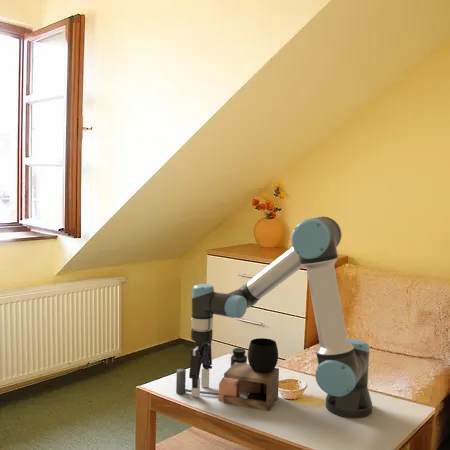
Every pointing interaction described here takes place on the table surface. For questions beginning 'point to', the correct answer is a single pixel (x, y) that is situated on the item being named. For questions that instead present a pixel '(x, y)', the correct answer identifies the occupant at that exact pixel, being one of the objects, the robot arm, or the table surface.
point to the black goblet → (262, 361)
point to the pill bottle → (238, 356)
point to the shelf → (253, 386)
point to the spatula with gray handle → (225, 388)
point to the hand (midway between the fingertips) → (200, 391)
